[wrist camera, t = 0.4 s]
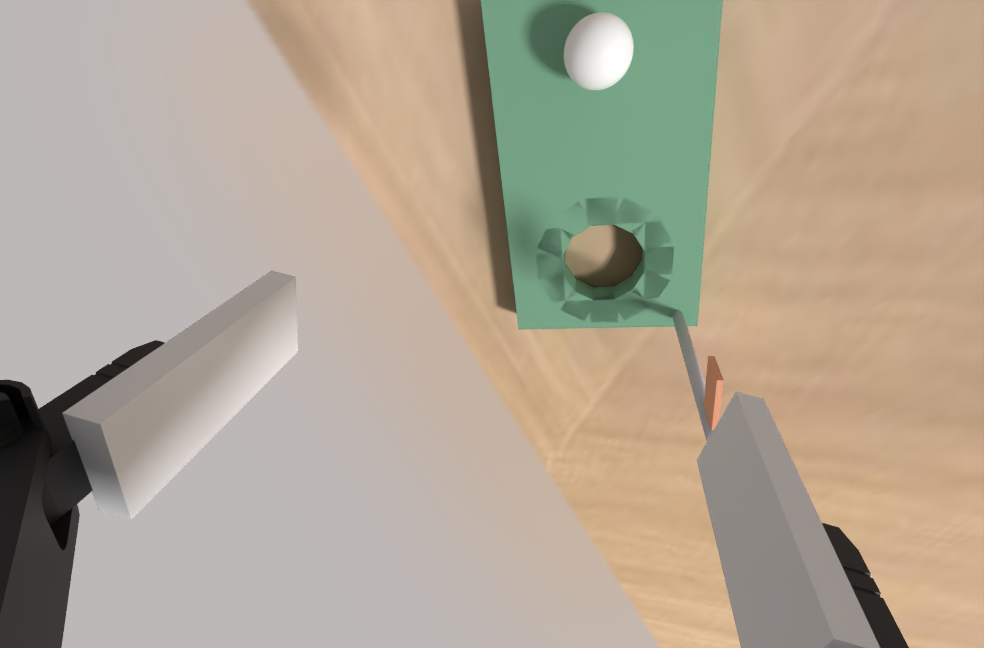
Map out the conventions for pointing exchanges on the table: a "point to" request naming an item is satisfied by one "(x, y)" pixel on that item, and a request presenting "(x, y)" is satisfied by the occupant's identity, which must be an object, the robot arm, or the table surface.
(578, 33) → the ball
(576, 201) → the green
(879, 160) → the table surface
